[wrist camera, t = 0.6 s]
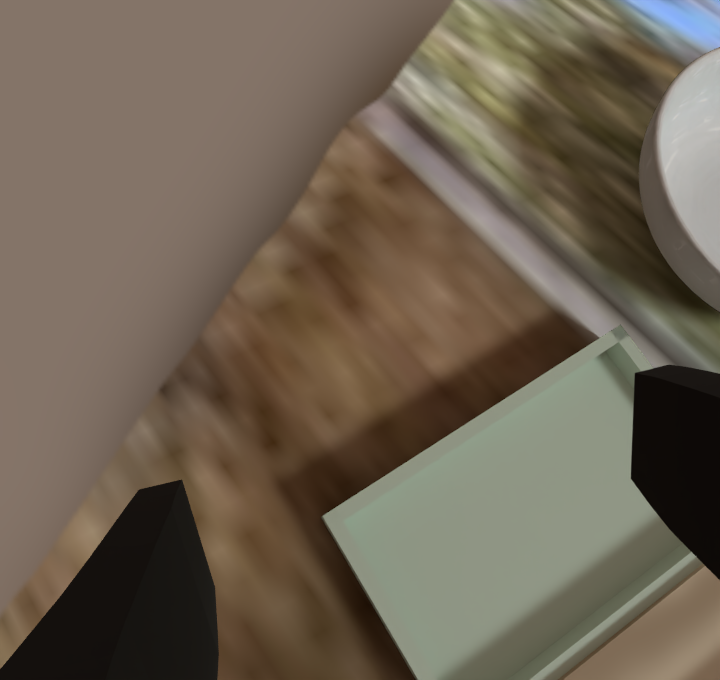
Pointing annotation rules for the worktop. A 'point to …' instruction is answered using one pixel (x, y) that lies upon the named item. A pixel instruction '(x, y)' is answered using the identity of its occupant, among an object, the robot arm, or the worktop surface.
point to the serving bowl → (686, 176)
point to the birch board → (664, 638)
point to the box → (517, 530)
